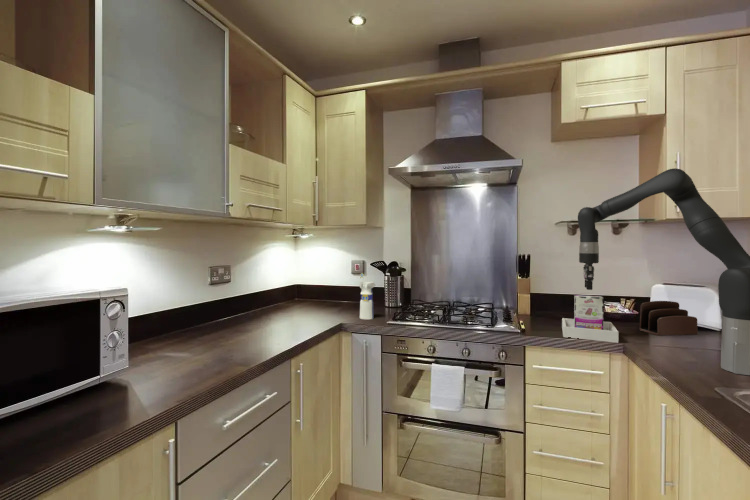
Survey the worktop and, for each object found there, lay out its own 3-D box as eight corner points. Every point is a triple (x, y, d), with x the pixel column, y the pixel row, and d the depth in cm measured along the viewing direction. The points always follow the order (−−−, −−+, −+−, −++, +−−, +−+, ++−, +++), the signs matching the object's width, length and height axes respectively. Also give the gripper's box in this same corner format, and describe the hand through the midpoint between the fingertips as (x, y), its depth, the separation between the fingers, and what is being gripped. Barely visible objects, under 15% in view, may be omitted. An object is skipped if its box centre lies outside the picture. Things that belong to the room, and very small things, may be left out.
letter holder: (639, 330, 170) (639, 300, 169) (677, 329, 172) (677, 300, 172) (657, 336, 160) (658, 304, 159) (698, 335, 162) (698, 303, 162)
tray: (618, 342, 148) (618, 331, 148) (563, 337, 157) (563, 326, 157) (610, 331, 166) (611, 322, 166) (562, 327, 175) (562, 318, 175)
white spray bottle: (372, 320, 189) (373, 272, 189) (357, 319, 191) (357, 272, 191) (376, 316, 197) (376, 271, 197) (361, 316, 199) (361, 270, 199)
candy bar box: (602, 332, 161) (602, 296, 161) (603, 335, 157) (604, 297, 157) (573, 329, 166) (574, 294, 166) (574, 332, 162) (574, 295, 161)
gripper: (600, 252, 153) (600, 291, 153) (596, 252, 166) (596, 287, 166) (580, 252, 156) (580, 290, 156) (578, 252, 169) (577, 286, 169)
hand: (588, 288), depth 161 cm, fingers open, 8 cm apart
